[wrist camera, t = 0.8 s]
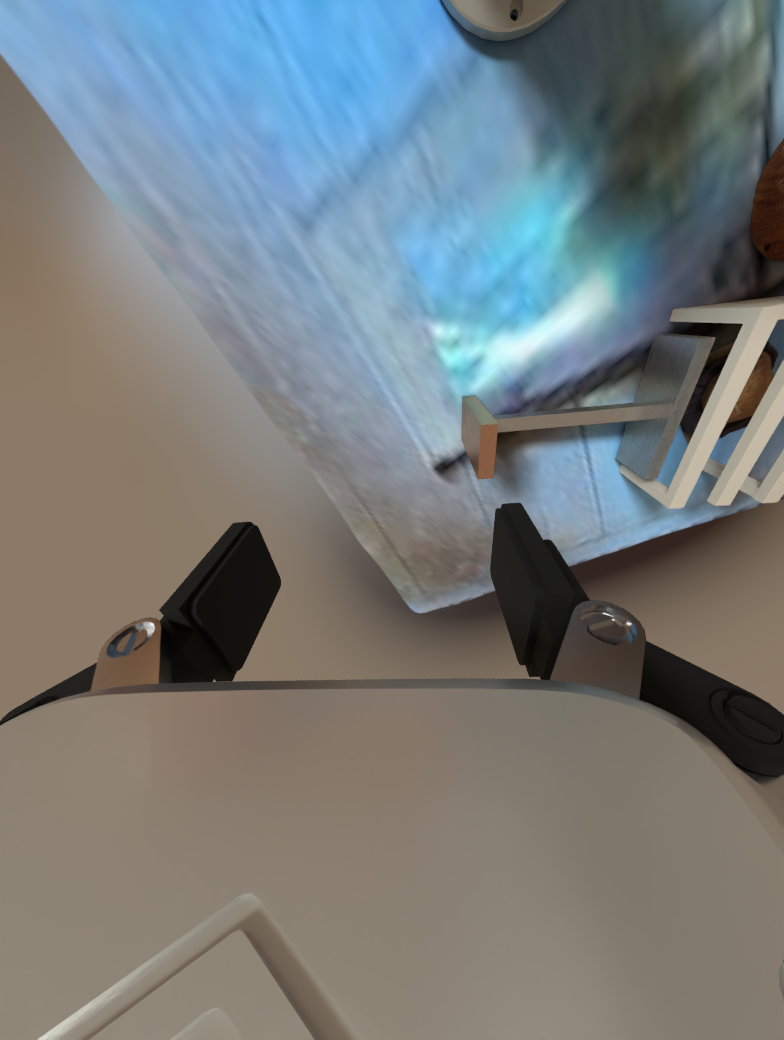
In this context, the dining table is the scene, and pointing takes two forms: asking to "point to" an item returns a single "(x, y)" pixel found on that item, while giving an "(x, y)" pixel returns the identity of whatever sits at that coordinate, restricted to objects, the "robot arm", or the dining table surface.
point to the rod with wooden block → (609, 410)
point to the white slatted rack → (736, 371)
